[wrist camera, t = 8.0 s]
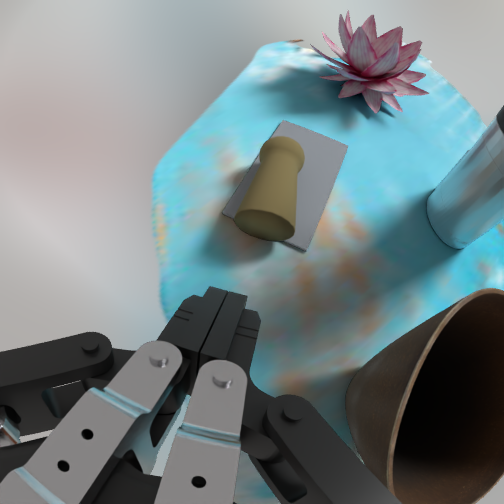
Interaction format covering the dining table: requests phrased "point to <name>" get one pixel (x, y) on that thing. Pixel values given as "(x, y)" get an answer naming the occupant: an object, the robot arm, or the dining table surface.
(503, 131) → the robot arm
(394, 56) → the decorative flower
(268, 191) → the cork
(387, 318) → the dining table surface
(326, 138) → the mat
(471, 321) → the plant pot
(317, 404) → the dining table surface
